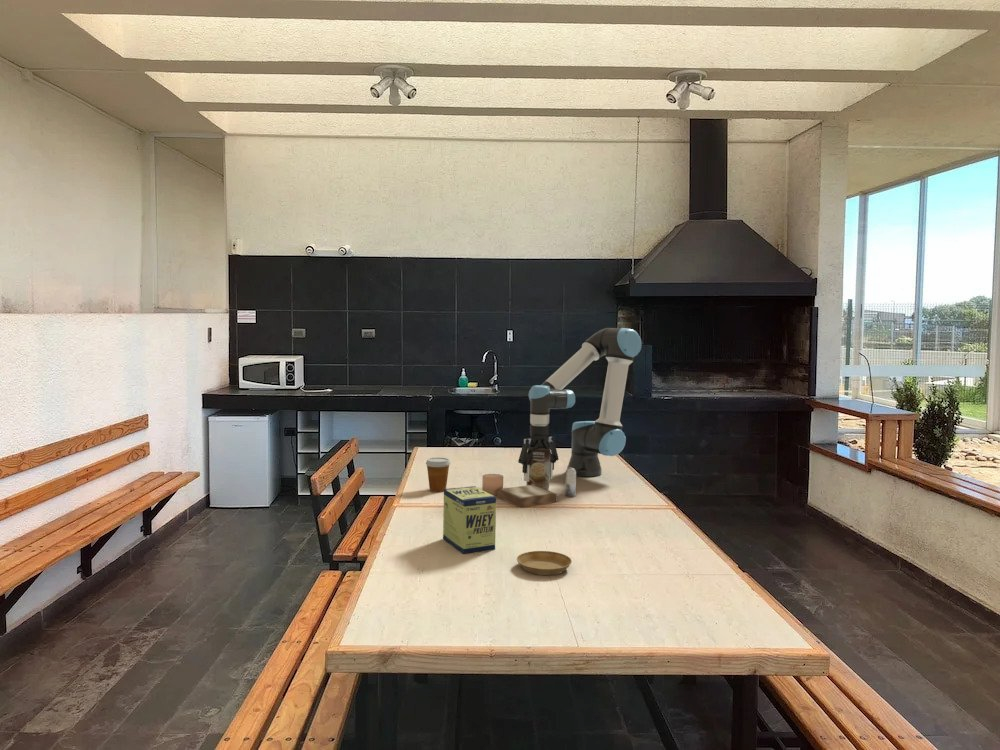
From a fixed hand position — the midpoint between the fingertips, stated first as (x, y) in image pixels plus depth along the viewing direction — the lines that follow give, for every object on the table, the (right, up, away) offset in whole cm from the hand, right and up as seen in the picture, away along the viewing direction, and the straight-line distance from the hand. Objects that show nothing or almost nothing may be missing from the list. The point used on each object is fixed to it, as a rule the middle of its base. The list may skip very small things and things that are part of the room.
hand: (538, 479), depth 278 cm
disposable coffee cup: (-39, -3, -6) cm, 40 cm away
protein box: (-25, -9, -72) cm, 76 cm away
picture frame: (-5, -5, -18) cm, 19 cm away
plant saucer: (-3, -11, -90) cm, 91 cm away
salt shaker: (+12, -4, -11) cm, 17 cm away
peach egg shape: (-18, -4, -11) cm, 21 cm away
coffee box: (0, -4, 0) cm, 4 cm away
